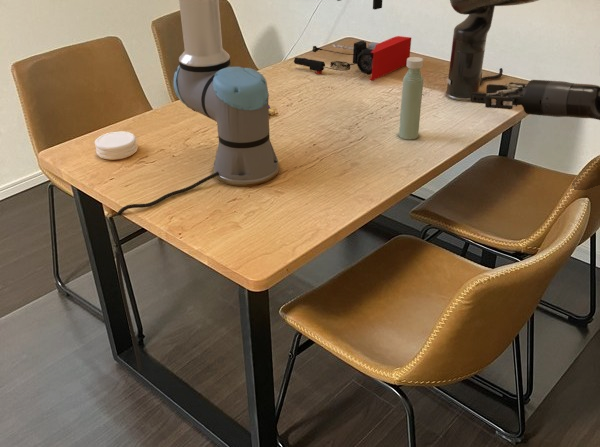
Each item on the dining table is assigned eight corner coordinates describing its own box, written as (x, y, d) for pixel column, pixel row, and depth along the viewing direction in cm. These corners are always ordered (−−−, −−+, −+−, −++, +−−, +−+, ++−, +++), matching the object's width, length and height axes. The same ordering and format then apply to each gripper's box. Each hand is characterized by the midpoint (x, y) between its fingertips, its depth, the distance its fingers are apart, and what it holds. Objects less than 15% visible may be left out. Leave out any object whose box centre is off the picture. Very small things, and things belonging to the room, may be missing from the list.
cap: (408, 69, 150) (409, 62, 149) (404, 64, 153) (405, 57, 152) (424, 68, 150) (424, 61, 149) (420, 63, 153) (420, 56, 152)
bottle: (401, 140, 159) (407, 64, 149) (396, 132, 163) (402, 58, 153) (420, 139, 160) (427, 63, 149) (415, 131, 164) (422, 57, 153)
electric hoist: (292, 37, 203) (372, 52, 188) (336, 23, 221) (412, 36, 206) (292, 68, 208) (370, 85, 193) (335, 52, 226) (409, 66, 211)
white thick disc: (108, 164, 149) (105, 151, 148) (90, 151, 156) (87, 138, 154) (145, 152, 155) (143, 139, 153) (126, 139, 161) (123, 127, 159)
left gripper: (410, -82, 149) (403, 9, 160) (338, -89, 165) (337, -6, 176) (388, -79, 145) (383, 15, 156) (317, -87, 161) (317, -2, 172)
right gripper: (562, 74, 137) (492, 70, 147) (539, 88, 128) (465, 83, 137) (559, 107, 141) (491, 101, 150) (536, 124, 131) (465, 116, 141)
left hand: (358, 4), depth 166 cm, fingers open, 13 cm apart
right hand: (479, 93), depth 144 cm, fingers open, 8 cm apart
